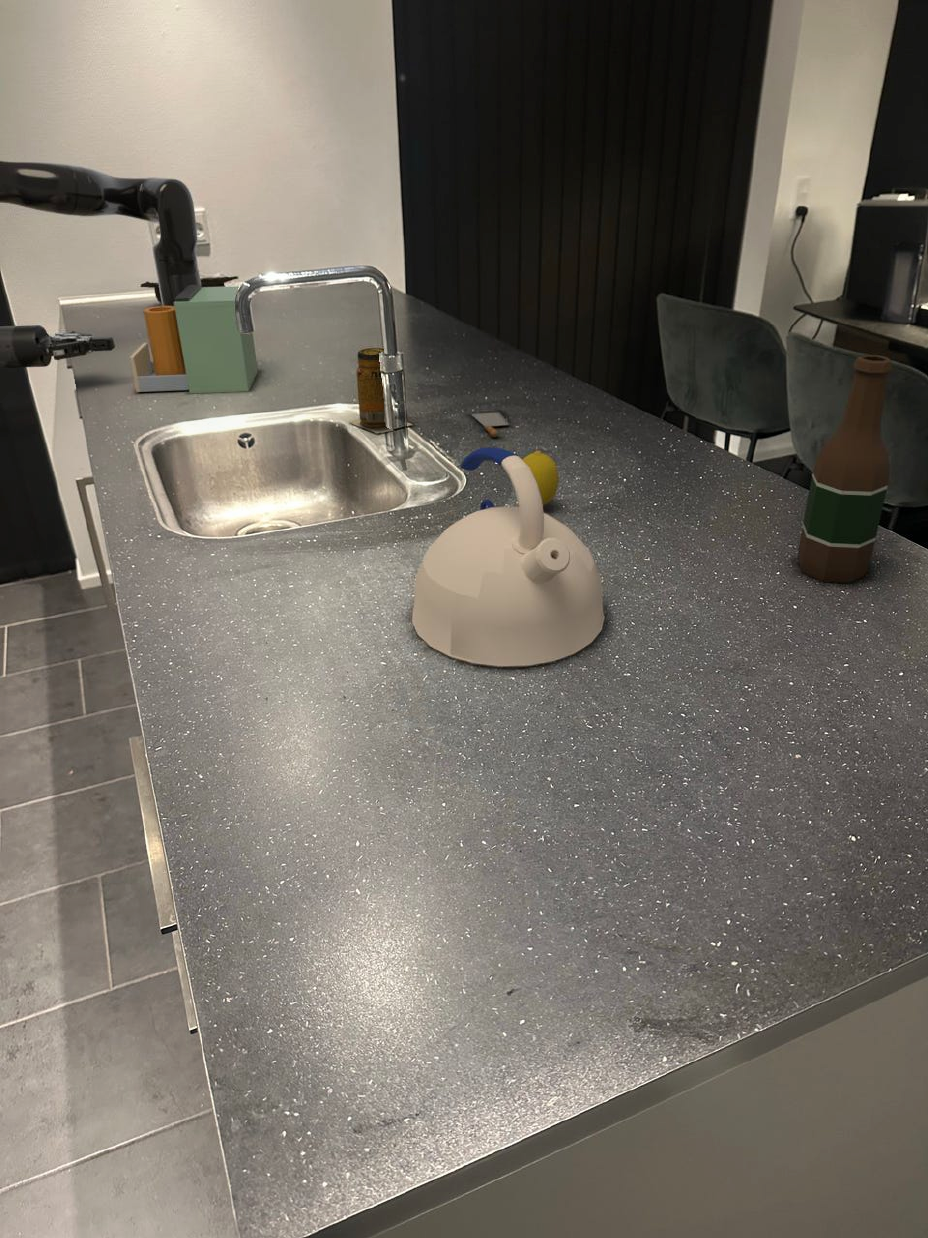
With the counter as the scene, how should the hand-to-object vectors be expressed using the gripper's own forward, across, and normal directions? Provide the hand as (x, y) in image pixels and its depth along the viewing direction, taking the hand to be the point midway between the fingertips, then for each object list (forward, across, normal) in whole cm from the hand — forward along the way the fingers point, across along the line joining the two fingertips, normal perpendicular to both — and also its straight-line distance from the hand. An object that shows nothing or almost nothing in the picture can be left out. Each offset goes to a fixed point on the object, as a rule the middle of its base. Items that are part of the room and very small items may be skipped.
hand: (112, 343), depth 170 cm
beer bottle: (+102, -89, +8) cm, 136 cm away
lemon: (+71, -68, +8) cm, 99 cm away
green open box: (+20, 0, +8) cm, 21 cm away
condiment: (+50, -30, +8) cm, 59 cm away
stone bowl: (0, +73, +8) cm, 74 cm away
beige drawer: (+10, 0, +8) cm, 12 cm away
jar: (+10, 0, +7) cm, 12 cm away
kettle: (+64, -96, +8) cm, 116 cm away
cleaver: (+69, -33, +8) cm, 77 cm away
